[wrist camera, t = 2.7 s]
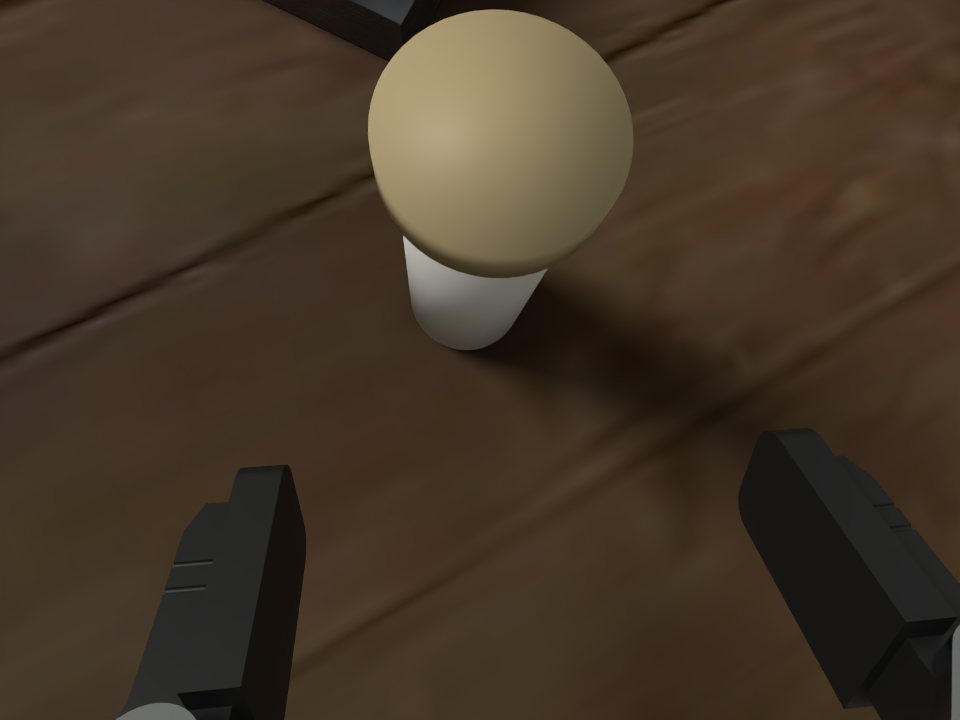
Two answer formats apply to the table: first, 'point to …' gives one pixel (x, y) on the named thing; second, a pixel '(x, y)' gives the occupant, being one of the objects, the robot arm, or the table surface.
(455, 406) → the table surface
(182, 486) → the table surface
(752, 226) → the table surface
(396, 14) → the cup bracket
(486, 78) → the white beige cylinder
